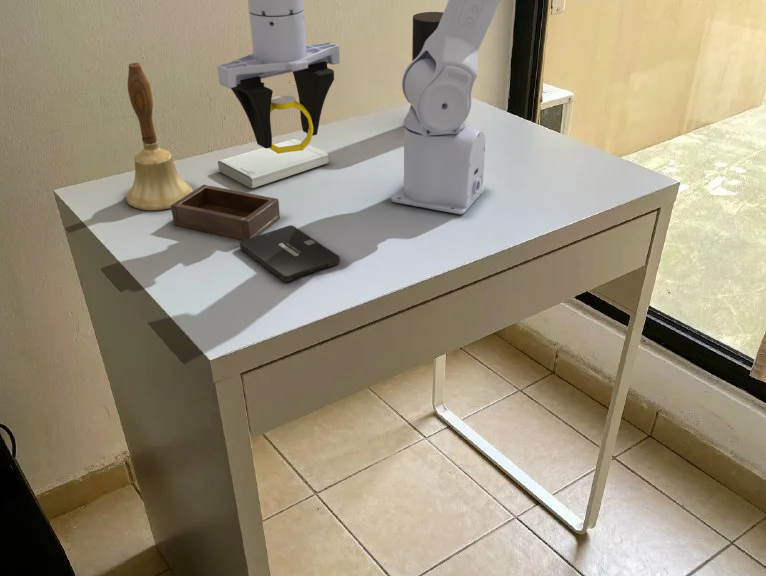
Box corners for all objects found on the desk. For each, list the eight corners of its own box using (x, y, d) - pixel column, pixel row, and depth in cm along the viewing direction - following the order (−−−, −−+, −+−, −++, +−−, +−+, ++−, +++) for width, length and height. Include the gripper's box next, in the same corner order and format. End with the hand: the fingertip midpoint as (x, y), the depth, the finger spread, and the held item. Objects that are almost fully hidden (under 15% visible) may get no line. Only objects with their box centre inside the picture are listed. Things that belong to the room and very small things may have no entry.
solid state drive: (292, 230, 89) (291, 224, 89) (341, 262, 83) (341, 257, 83) (238, 247, 86) (238, 241, 86) (285, 283, 80) (285, 277, 79)
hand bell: (207, 195, 97) (185, 62, 88) (151, 217, 93) (121, 78, 83) (169, 178, 102) (144, 49, 92) (113, 197, 97) (81, 64, 87)
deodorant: (408, 130, 115) (409, 21, 106) (414, 117, 120) (415, 11, 110) (448, 132, 114) (453, 22, 105) (452, 119, 119) (457, 12, 110)
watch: (313, 145, 92) (309, 93, 88) (315, 153, 90) (312, 101, 86) (262, 148, 91) (256, 96, 87) (263, 157, 89) (258, 104, 85)
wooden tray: (280, 218, 92) (278, 198, 91) (250, 241, 87) (247, 221, 86) (206, 203, 96) (203, 184, 94) (173, 225, 91) (170, 205, 89)
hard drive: (251, 177, 98) (328, 152, 104) (216, 159, 103) (292, 136, 109) (253, 190, 99) (329, 164, 105) (218, 171, 104) (293, 148, 110)
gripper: (236, 28, 75) (251, 164, 83) (354, 6, 82) (358, 134, 90) (200, 15, 79) (219, 146, 88) (316, -4, 86) (322, 118, 95)
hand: (287, 139), depth 89 cm, fingers closed on watch, 6 cm apart
